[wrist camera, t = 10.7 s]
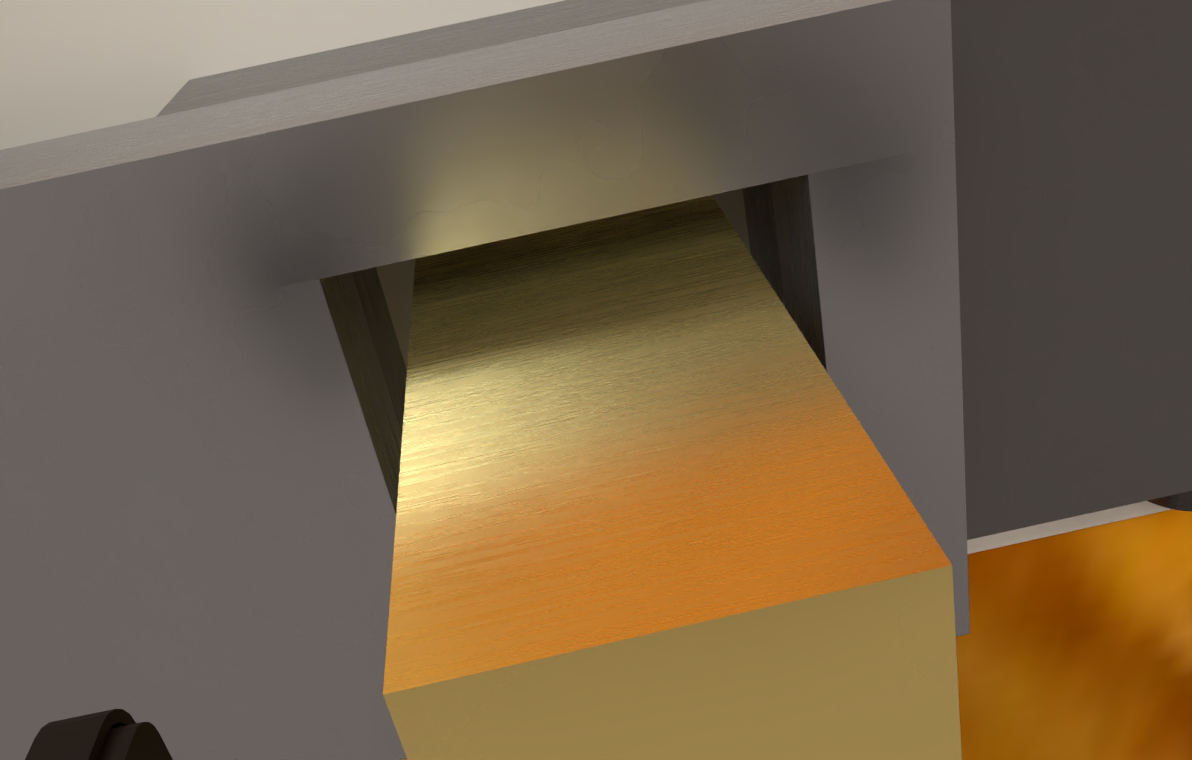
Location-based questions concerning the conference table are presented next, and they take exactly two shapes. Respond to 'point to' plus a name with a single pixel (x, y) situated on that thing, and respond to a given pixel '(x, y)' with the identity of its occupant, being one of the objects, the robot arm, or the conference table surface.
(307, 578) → the gray toy truck
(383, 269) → the board
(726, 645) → the pin
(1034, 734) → the conference table surface
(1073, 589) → the conference table surface
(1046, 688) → the conference table surface
